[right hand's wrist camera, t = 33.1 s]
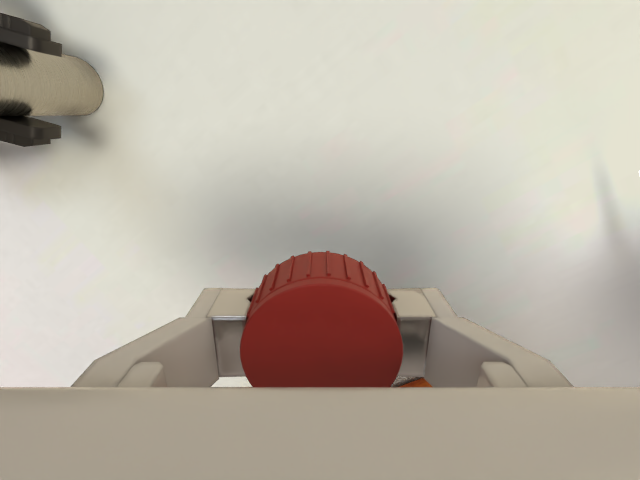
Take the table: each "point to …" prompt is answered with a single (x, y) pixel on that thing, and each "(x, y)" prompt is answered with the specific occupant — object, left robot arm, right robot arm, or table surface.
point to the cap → (321, 326)
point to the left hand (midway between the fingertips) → (50, 91)
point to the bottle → (46, 84)
